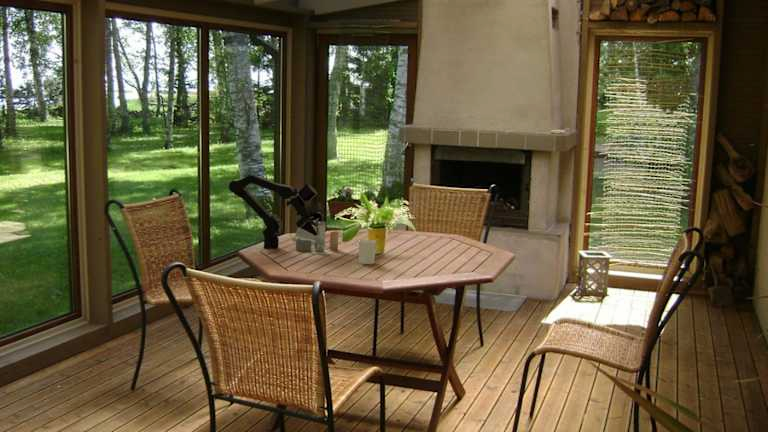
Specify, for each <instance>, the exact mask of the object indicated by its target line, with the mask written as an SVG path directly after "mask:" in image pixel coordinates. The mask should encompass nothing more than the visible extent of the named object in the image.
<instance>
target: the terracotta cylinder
mask: <svg viewBox="0 0 768 432" xmlns="http://www.w3.org/2000/svg"><path fill="white" fill-rule="evenodd" d="M338 248H339V231H338V230H330V231H329V250H328V251H333V252H337V251H338V250H339V249H338Z"/></svg>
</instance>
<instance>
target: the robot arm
mask: <svg viewBox="0 0 768 432" xmlns="http://www.w3.org/2000/svg"><path fill="white" fill-rule="evenodd" d="M251 184H254V185H256V186H258V187H261V188H263V189H266V190H269V191H270V192H274V193H275V194H277V196H280V197H281V198H283V199H284V200H286V204H285V206H286V207H290V206H291V207H292V208H293V209H294V211H295V212H296V216H299V217H300V218H299V219H298V220H297V221H296V222H295V226H296V227H297V229H298V228H301V229H303V230H305V231H307V232H309V233H311V234H313V235H315V236H316V235H317V232H316V231H315V229H314V227H313V226H312V225H314V226H315V227H316V222H318V221H321V222H324V218H325V217H324V216H325V215H324V213H323V212H321V211H323V205H322V203H320V202H316V203H314V205H312V206H310V205H308V204H306V203H305V202H310V201H311V200H312V199H313V198H314V197H316V196H317V195H318V192H317V190H316V189H315V188H314V187H313V186H312V185H310V184H309V183H305V185H304V186H303V187H302V188H301V189H297V188H295V187H294V186H293V185H288V184H283V183H277V182H274V181H272V180H269V179H266V178H264V177H261V176H259V175H256V174H254V173H251V174H249V175H247V176H245V177H243V178H241V179H235V180H232V181H230V182H229V184H228V189H229V191H230V192H231V193H233V194H234V195H235V196H236V197H238V198H241V199H242V200H243V201H244V202H245V203H246V204H247V205H248V206H249V207H250V209H252V211H254V212H255V214H257V215H258V216H259V217H260V219H261V220H262V222H263V223H264V226H265V229H263V230H262V233H263V234H262V235H263V249H278V247H279V240H280V239H279V236H278V235H279V231H280V230H282V228H283V225H284V224H283V221H282V218H281V217H279V215H278V214H277V213H274V214H271V213H270V212H269V211H268V210H267V209H266V208H265V207H264V206H263V205H262V204H261V203H260V202H259V201H258V200H257V198H255V196H253V194H251V193H250V191H249V188H248V185H251ZM289 199H290V200H289ZM326 232H327V230H326V229H325V233H326Z"/></svg>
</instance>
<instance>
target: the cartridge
mask: <svg viewBox="0 0 768 432" xmlns="http://www.w3.org/2000/svg"><path fill="white" fill-rule="evenodd" d="M326 224H327V222H326V221H323V222H321V221H318V222H316V232H317V235H316V237H315V246H314V250H315V252H318V253H322V252H324V250H325V246H326V245H325V243H326V241H325V239H326V232H325V230H326Z"/></svg>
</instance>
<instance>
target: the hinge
mask: <svg viewBox="0 0 768 432" xmlns="http://www.w3.org/2000/svg"><path fill="white" fill-rule="evenodd" d="M312 226H313V227H314V229H315V231H316V227H315V226H314V225H313V224H312ZM315 237H316V236H315V235H313V234H311V233H309V232H307V231H305V230H303V229H301V228H298V227H297V229H296V232H295V235H294V236H293V237H292V239H291V240H292V242H295V243H296V239H298V238H300V239H311V246H313V247H315Z"/></svg>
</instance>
